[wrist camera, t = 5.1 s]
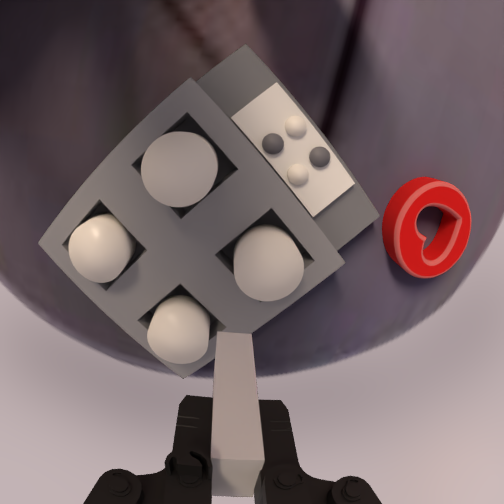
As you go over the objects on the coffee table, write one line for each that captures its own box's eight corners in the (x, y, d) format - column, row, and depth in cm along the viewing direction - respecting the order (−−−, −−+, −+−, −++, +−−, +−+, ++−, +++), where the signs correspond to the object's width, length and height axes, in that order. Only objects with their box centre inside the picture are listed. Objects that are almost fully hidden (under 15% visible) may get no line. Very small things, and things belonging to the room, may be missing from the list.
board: (61, 227, 26) (38, 243, 22) (244, 50, 22) (247, 34, 18) (188, 350, 32) (183, 379, 28) (370, 210, 28) (392, 223, 23)
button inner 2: (139, 164, 21) (126, 168, 18) (188, 118, 20) (181, 115, 18) (182, 211, 23) (175, 222, 20) (232, 168, 22) (232, 172, 19)
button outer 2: (220, 251, 24) (219, 267, 21) (269, 211, 23) (275, 222, 20) (260, 293, 26) (264, 313, 23) (307, 257, 25) (317, 273, 22)
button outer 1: (143, 316, 26) (135, 336, 23) (181, 284, 25) (176, 303, 22) (183, 350, 27) (179, 372, 24) (221, 322, 26) (221, 343, 23)
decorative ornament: (467, 220, 29) (484, 228, 26) (413, 283, 31) (428, 297, 28) (424, 156, 26) (442, 160, 23) (362, 227, 28) (376, 238, 25)
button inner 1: (74, 238, 24) (58, 250, 21) (107, 199, 23) (92, 208, 20) (112, 277, 25) (100, 294, 22) (147, 242, 24) (137, 256, 22)
